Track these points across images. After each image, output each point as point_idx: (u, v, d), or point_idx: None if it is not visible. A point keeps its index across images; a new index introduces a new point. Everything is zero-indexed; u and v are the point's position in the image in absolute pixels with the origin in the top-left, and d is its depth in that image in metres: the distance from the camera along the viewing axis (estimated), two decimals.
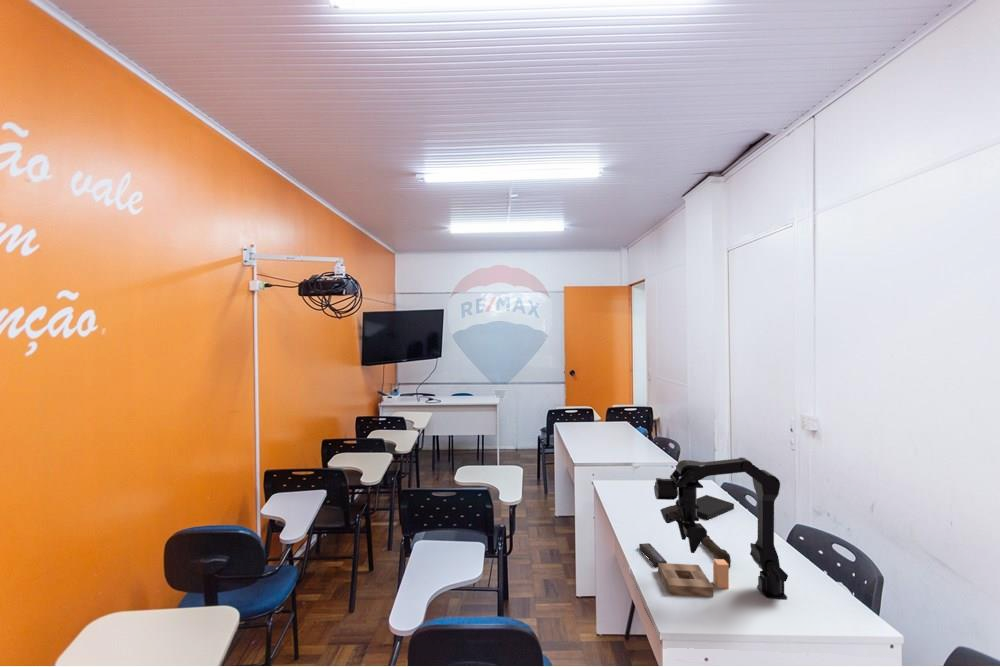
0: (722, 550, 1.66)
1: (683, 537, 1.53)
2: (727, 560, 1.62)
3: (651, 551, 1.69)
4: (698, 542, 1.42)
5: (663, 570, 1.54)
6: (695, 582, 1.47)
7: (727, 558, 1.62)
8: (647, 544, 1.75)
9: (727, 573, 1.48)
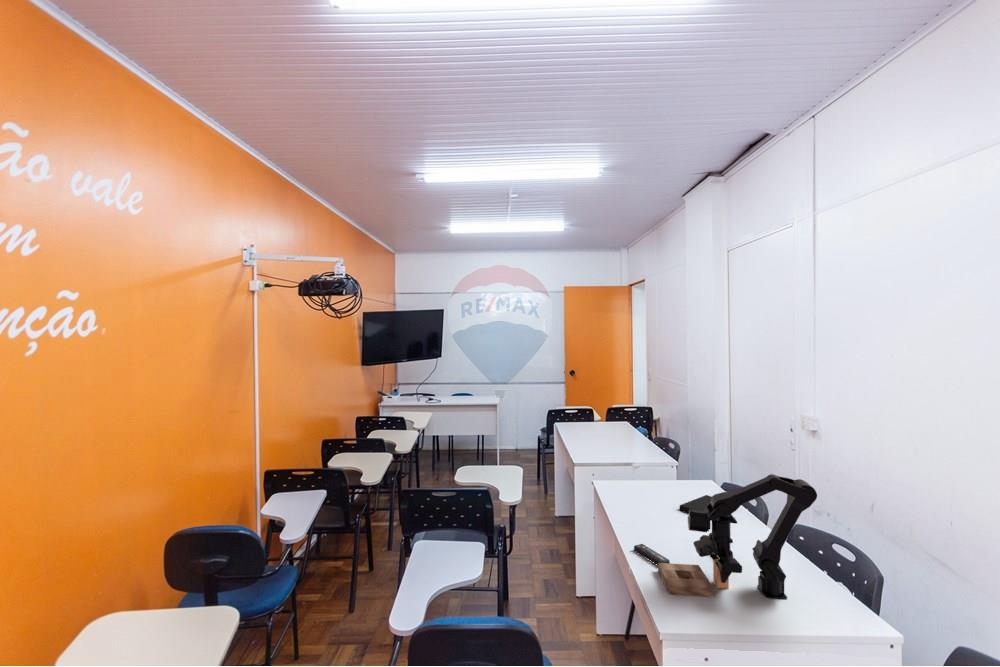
0: None
1: None
2: None
3: (650, 552, 1.69)
4: (729, 572, 1.47)
5: (663, 570, 1.54)
6: (695, 582, 1.47)
7: None
8: (641, 545, 1.75)
9: None
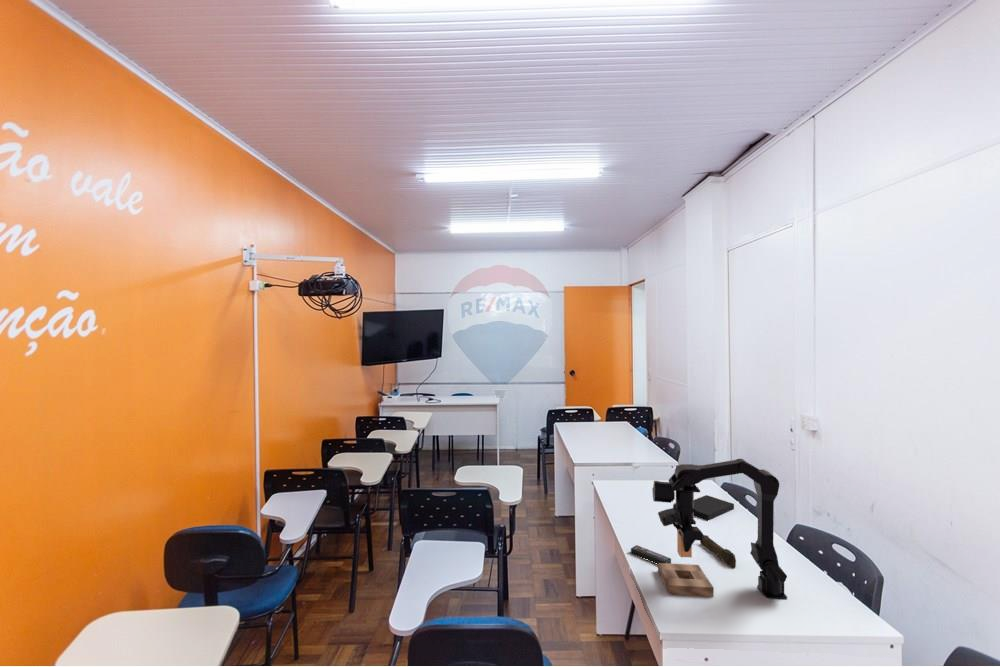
0: (726, 550, 1.66)
1: None
2: (732, 560, 1.62)
3: (649, 553, 1.68)
4: (692, 541, 1.48)
5: (663, 570, 1.54)
6: (695, 582, 1.47)
7: (732, 558, 1.62)
8: (636, 546, 1.73)
9: None
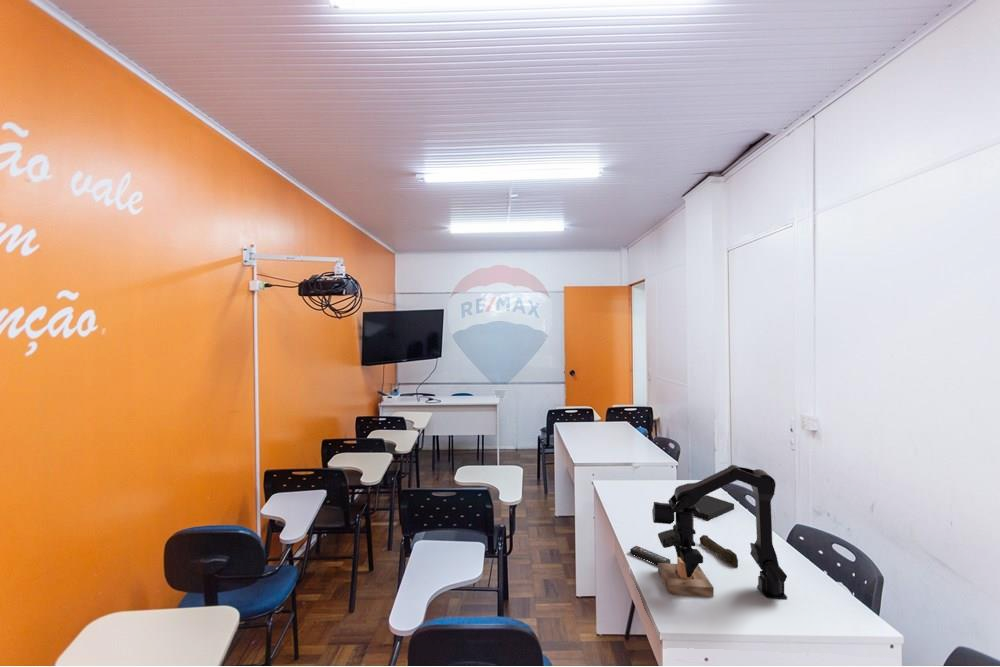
0: (727, 550, 1.66)
1: None
2: (734, 560, 1.62)
3: (648, 554, 1.68)
4: (694, 567, 1.46)
5: (663, 570, 1.54)
6: (695, 582, 1.47)
7: (734, 558, 1.62)
8: (636, 547, 1.73)
9: None
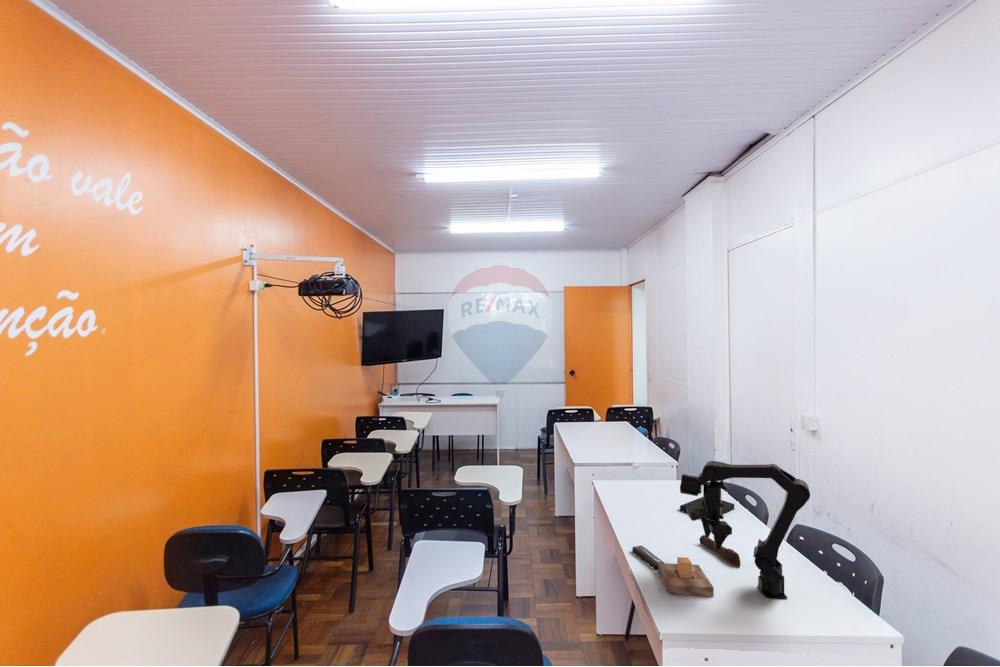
0: (729, 550, 1.66)
1: (707, 534, 1.60)
2: (737, 559, 1.62)
3: (647, 554, 1.67)
4: (723, 539, 1.49)
5: (663, 570, 1.54)
6: (695, 582, 1.47)
7: (737, 557, 1.62)
8: (640, 546, 1.73)
9: (690, 571, 1.49)
